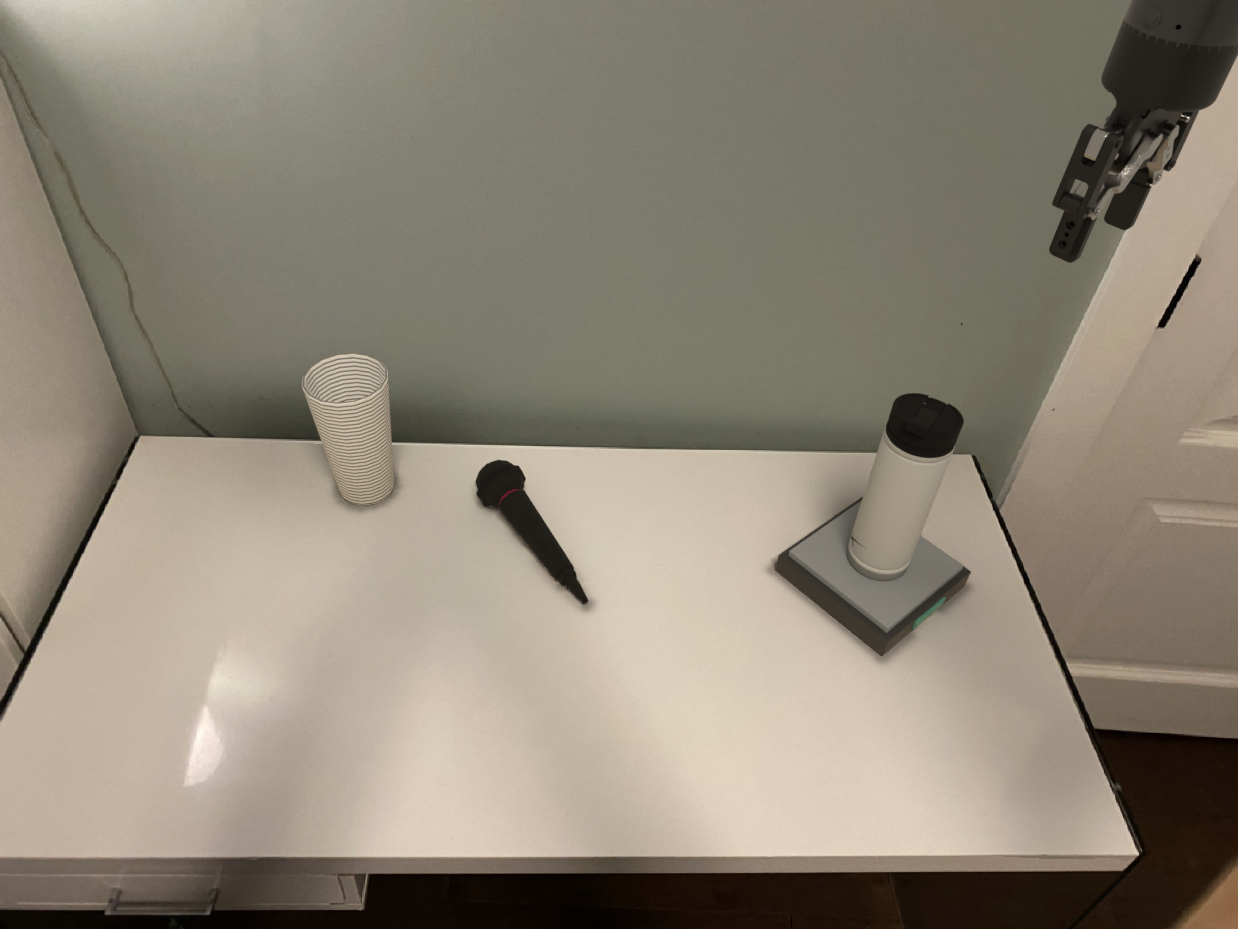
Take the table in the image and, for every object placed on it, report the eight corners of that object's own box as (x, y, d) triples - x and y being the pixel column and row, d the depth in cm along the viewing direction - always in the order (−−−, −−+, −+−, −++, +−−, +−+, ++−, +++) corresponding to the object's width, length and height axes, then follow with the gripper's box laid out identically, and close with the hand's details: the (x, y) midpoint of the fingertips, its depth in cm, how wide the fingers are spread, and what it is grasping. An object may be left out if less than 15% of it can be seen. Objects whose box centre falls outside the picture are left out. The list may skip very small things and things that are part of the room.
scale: (966, 587, 95) (975, 567, 93) (883, 658, 88) (891, 638, 86) (858, 510, 103) (864, 490, 100) (774, 570, 96) (779, 549, 93)
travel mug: (834, 565, 92) (881, 412, 79) (861, 527, 96) (909, 376, 83) (892, 594, 90) (951, 442, 76) (917, 553, 94) (976, 402, 80)
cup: (380, 523, 98) (358, 412, 88) (312, 501, 100) (283, 390, 90) (420, 473, 104) (404, 364, 94) (356, 453, 106) (333, 344, 96)
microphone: (596, 613, 94) (501, 483, 104) (616, 576, 91) (516, 445, 101) (554, 627, 91) (460, 490, 101) (573, 589, 87) (474, 452, 97)
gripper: (1194, 60, 55) (1089, 291, 66) (1286, 18, 62) (1178, 233, 73) (1079, 25, 59) (999, 248, 70) (1179, -10, 66) (1091, 198, 77)
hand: (1090, 240), depth 72 cm, fingers open, 8 cm apart
